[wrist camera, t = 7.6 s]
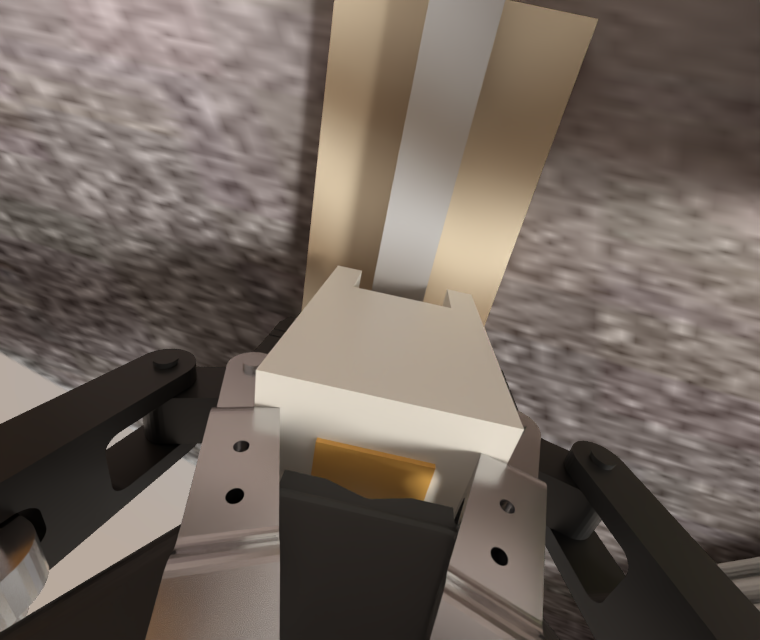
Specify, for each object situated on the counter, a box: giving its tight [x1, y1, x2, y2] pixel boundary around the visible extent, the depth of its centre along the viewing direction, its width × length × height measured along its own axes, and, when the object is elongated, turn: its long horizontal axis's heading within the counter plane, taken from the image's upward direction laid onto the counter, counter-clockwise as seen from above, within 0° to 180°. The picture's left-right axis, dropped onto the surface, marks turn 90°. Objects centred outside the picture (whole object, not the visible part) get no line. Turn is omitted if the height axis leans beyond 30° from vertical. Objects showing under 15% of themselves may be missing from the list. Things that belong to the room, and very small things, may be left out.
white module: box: [254, 266, 524, 514], centre depth 10 cm, size 5×5×7 cm
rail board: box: [302, 0, 598, 326], centre depth 14 cm, size 19×8×2 cm, turn 169°
